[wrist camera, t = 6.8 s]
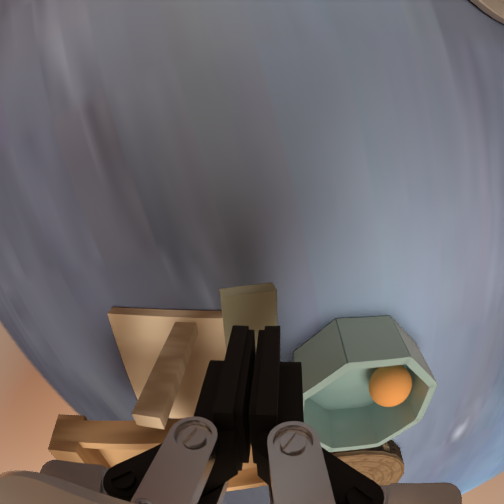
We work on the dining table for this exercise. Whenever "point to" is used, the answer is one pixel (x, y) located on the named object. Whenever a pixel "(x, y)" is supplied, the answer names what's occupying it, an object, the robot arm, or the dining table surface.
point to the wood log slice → (376, 462)
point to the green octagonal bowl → (360, 382)
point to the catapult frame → (167, 358)
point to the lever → (144, 438)
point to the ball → (390, 385)
